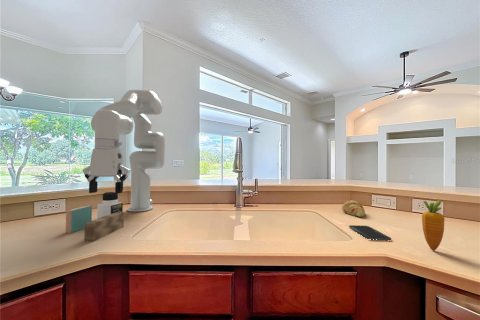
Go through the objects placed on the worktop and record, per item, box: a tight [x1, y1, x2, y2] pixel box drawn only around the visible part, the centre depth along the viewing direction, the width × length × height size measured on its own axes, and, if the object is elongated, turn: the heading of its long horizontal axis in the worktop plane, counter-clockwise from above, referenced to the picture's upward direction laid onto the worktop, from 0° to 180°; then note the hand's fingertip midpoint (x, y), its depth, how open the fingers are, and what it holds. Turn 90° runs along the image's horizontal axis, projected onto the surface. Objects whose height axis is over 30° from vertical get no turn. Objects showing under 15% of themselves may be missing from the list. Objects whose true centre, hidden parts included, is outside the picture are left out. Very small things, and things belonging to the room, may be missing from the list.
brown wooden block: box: [84, 212, 125, 243], centre depth 78 cm, size 16×3×6 cm, turn 176°
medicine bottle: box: [96, 191, 124, 219], centre depth 98 cm, size 7×7×12 cm
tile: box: [65, 205, 93, 234], centre depth 83 cm, size 3×9×8 cm, turn 175°
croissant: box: [341, 199, 366, 218], centre depth 112 cm, size 21×10×8 cm, turn 173°
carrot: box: [421, 200, 445, 251], centre depth 64 cm, size 5×5×15 cm
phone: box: [348, 225, 392, 241], centre depth 80 cm, size 8×1×15 cm
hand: (106, 192), depth 78 cm, fingers open, 9 cm apart
